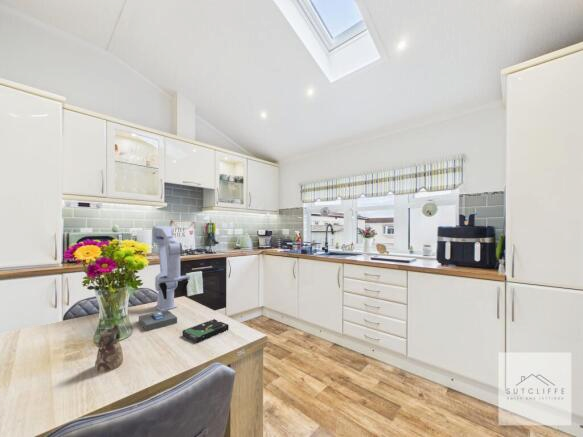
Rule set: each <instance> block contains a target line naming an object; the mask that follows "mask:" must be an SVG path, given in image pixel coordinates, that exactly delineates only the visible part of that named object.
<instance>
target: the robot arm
mask: <svg viewBox="0 0 583 437" xmlns="http://www.w3.org/2000/svg"><path fill="white" fill-rule="evenodd" d="M151 228H152V231H151V232H152V241H153V243H154V244H156V245H157V249H158V251H157V252H158V259H159V260H158V261H159V268H160V269H159V270H160V272H159V273H158V274H157V275H156V276H155V279H154V281H155V282H154V283H155V284H154V285H155V286H154V287H155V291H156V292H157V295H156V296H157V303H156V304H157V305H155V308H156V309H158V310H159V311H162V310H171V309H175V308H177V307H178V306H177V305H175V290H176V289H177V287H178V282H179V285H180V296H182V297H184V296H185V290H186V289H187V286H188V284H189V281H190V280H191V276H190V275H181V255H182V253H183V246H182V242H178V241H177V239H176V237H175V236H174V231H175V230H174V226H172V225H153V226H152V227H151Z"/></svg>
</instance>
